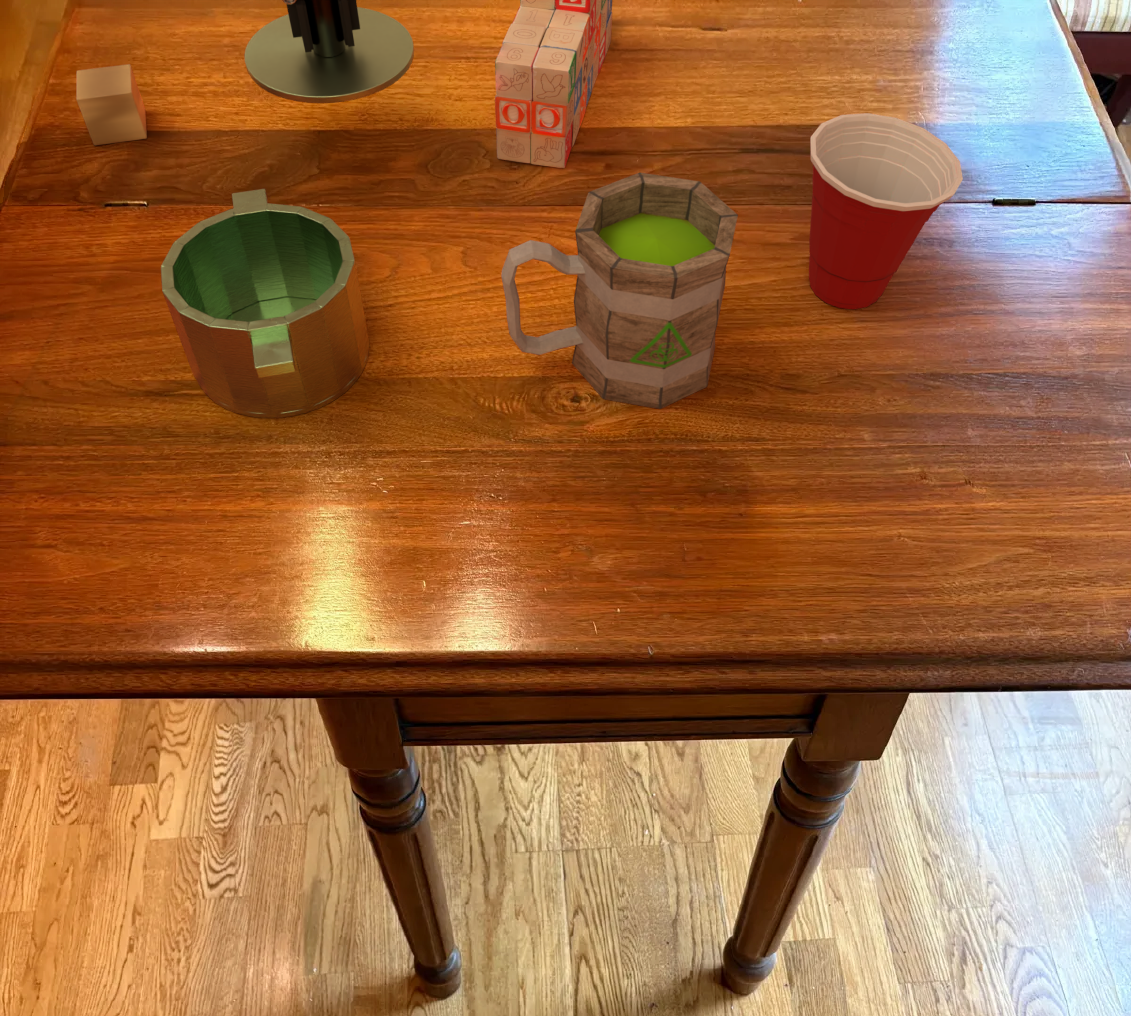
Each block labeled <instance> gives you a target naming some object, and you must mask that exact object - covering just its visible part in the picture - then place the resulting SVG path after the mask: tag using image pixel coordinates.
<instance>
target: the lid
mask: <svg viewBox="0 0 1131 1016" xmlns="http://www.w3.org/2000/svg"><path fill="white" fill-rule="evenodd" d="M305 4H306V9H307V15H308V20H309V26H310V31H311V36H312V42H313V47H314V50H312V52H306V53H305V48H304V44H303V40H302V37H296V38H293V34H292V29H291V24H290V19H289V15H288V13H287V14H284V15H283V16H279V17H278V18H275V19H273V20H272V21H270V22H269V23H267V24H265V25H263V27H261V28H260V29H259V30H257V31H256V32H255V33H254V34H253V35H252V37H251V38H250V40H249V41H248V42H247V44H246V47H245V49H244V63H245V68H246V71H247V73H248V75H249V77H250V79H251V80H252V81H253V82H254V83H255V84H256V85H257V86H259V88H261V89H262V90H263V91H266V92H267V93H269V94H271V95H274V96H276V97H279V98H281V99H285V100H290V101H294V102H299V103H305V104H337V103H345V102H349V101H355V100H359V99H362V98H363V99H364V98H367V97H368V96H372V95H375V94H377V93H379V92H381V91H383V90H385V89H388V88H389V87H390V86H392V85H393V84H395V83H396V82H398V81H399V80H400V79H402V77H403V76H404V75H405V74H406V73H407V72H408V71H409V69H410V68H411V66H412V65H413V61H414V57H415V46H414V41H413V38H412V35H411V33H410V32H409V30H408V29H407V28H406V27H405V26H404V24H402V23H401V22H399V21H398V20H397V19H395V18H393V17H391V16H390V15H388V14H385V13H383V12H381V11H378V10H374V9H370V8H365V7H361V6H357V9H358V16H359V23H360V29H359V30H352V31H353V38H354V44H355V46H352V47H348V45H345V42H344V37H343V31H342V25H341V18H340V12H339V6H338V0H305Z"/></svg>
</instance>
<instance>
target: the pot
mask: <svg viewBox="0 0 1131 1016" xmlns="http://www.w3.org/2000/svg"><path fill="white" fill-rule="evenodd" d="M231 199H232V207H233V208H230V209H227V210H224V211H223V212H219V213H217V214H214V215H212V216H209V217H207V218H206V219H203V220H200V221H199V222H197V223H196V224H194V225H193V226H192V227H190V228H189V229H188V230H187V231H186V232H184V233H183V234H182V235H181V236H180V237H178V238H177V239H176V240H174V242H173V243H172V245H171V247H170V248H169V250H168V252H167V254H166V255H165V257H164V259H163V261H162V263H161V265H160V277H161V279H160V280H161V291H162V294H163V297H164V300H165V302H166V305H167V307H168V310H169V313H170V316H171V318H172V321H173V324H174V327H175V329H176V332H177V335H178V338H179V340H180V343H181V346H182V349H183V352H184V354H185V356H186V359H187V362H188V364H189V367H190V371H191V372H192V375H193V378H194V379H195V380H196V382H197V384H198V385H199V387H200V389H201V391H203V393H204V394H205V395H206V396H207V397H208V399H210V400H212V401H213V402H214V403H215V404H216V405H218V406H220V407H221V408H223V409H225V410H228V411H230V412H232V413H235V414H239V415H241V416H245V417H250V418H251V417H252V418H258V419H281V418H288V417H294V416H298V415H303V414H306V413H309V412H312V411H316V410H318V409H320V408H322V407H325V406H327V405H328V404H331V403H332V402H334V401H336V400H337V399H338V398H340V397H341V396H343V395H344V394H345V393H346V392H347V391H349V390H350V389H351V388H352V387H353V386H354V385H355V383H356V382H357V381H358V380H359V378H360V377H361V375H362V374H363V372H364V370H365V368H366V365H367V363H368V359H369V355H370V347H371V345H370V344H371V343H370V338H369V332H368V327H367V321H366V315H365V309H364V304H363V299H362V298H363V297H362V293H361V288H360V281H359V276H358V275H359V274H358V270H357V264H356V260H355V255H354V250H353V246H352V242H351V238H350V236H349V235H348V234H347V233H346V232H345V231H344V230H343V229H342V228H341V227H340V226H339V225H338V224H337V223H336V222H335V221H334V220H333V219H332V218H330V217H328V216H326V215H323V214H321V213H319V212H316V211H314V210H312V209H309V208H306V207H304V206H301V205H289V204H279V203H271V202H270V203H269V198H268V195H267V190H266V188H260V189H259V188H258V189H253V190H247V191H239V192H233V193H231Z"/></svg>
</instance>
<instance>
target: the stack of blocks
mask: <svg viewBox="0 0 1131 1016" xmlns="http://www.w3.org/2000/svg"><path fill="white" fill-rule="evenodd" d="M612 25H613V0H519V8H518V9H517V11H516V14H515V16H514V18H513V21H512V23H510V24H509V27H508V29H507V31H506V34H505V36H504V38H503V40H502V43H501V44H502V45H501V47H500V49H499V51H498V54H497V56H496V59H495V60H494V69H495V71H494V74H495V75H494V76H495V96H494V114H495V118H494V119H495V127H496V128H495V135H496V158H497V159H498V160H503V161H504V160H505V161H510V162H517V163H524V164H531V165H535V166H536V165H537V166H544V167H551V168H558V169H565V168H566V167H567V166H566V165H567V164H568V163H567V162H568V159H569V156H570V154H571V151H572V148H573V147H574V146H575V142H576V139H577V136H578V133H579V131H580V128H581V126H582V123H583V120H584V117H585V115H586V112H587V107H588V103H589V101H590V98H591V95H592V94H593V93H592V92H593V90H594V87H595V84H596V81H597V79H598V75H599V74H600V73H601V70H602V67H603V64H604V61H605V58H606V56H607V54H608V51H609V48H610V45H611V42H612Z"/></svg>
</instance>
